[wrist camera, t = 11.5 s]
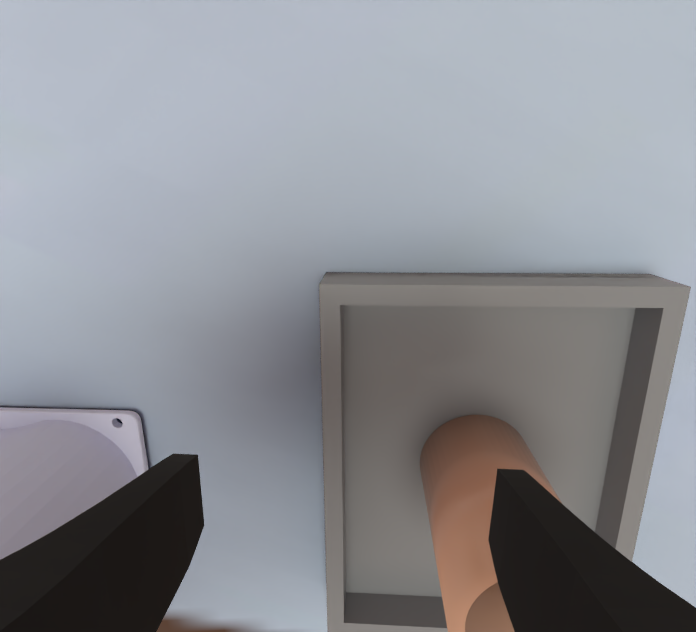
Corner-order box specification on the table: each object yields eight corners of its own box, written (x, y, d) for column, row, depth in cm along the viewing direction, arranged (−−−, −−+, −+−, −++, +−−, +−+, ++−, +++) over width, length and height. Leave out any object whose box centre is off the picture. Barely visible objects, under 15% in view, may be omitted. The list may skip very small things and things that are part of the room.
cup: (417, 506, 21) (444, 687, 14) (421, 413, 20) (453, 556, 12) (523, 509, 21) (610, 695, 13) (534, 415, 20) (639, 562, 12)
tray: (332, 590, 24) (327, 634, 22) (325, 272, 19) (318, 284, 17) (588, 602, 23) (612, 649, 21) (650, 273, 19) (690, 286, 16)
